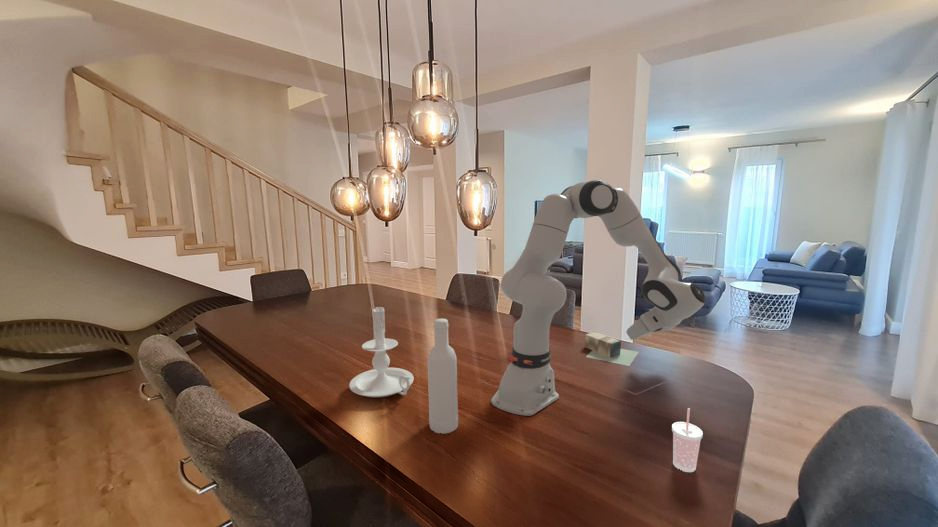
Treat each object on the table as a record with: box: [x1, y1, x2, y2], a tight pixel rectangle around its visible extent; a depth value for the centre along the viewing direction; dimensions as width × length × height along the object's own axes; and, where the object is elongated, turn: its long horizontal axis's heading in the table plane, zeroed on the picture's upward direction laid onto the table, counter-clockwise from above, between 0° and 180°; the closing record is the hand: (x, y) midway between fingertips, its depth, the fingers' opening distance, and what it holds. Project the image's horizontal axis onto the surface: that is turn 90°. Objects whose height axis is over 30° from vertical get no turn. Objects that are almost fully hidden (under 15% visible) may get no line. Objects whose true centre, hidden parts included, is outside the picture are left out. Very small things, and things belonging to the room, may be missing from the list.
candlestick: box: [348, 306, 415, 398], centre depth 124 cm, size 21×25×28 cm
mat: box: [585, 348, 639, 367], centre depth 152 cm, size 16×16×1 cm
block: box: [584, 331, 622, 357], centre depth 156 cm, size 6×6×13 cm
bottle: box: [426, 318, 459, 435], centre depth 103 cm, size 8×8×30 cm
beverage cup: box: [671, 407, 704, 473], centre depth 87 cm, size 6×6×14 cm
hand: (635, 337), depth 142 cm, fingers closed
